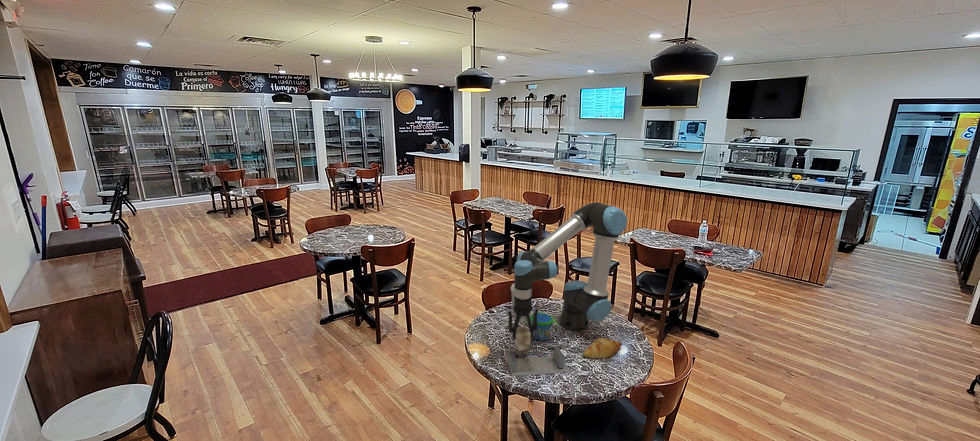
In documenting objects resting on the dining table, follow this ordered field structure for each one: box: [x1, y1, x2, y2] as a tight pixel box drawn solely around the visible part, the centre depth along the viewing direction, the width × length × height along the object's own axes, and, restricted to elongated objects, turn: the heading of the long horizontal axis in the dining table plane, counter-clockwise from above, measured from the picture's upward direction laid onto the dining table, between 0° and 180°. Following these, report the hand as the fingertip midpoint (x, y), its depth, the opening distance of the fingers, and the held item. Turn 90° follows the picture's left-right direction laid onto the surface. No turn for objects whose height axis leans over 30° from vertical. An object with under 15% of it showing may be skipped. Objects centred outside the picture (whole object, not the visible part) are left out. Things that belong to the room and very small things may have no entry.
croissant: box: [582, 337, 623, 359], centre depth 183 cm, size 21×10×8 cm, turn 115°
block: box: [517, 325, 531, 352], centre depth 179 cm, size 5×8×7 cm, turn 8°
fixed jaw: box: [507, 348, 517, 373], centre depth 169 cm, size 2×9×5 cm, turn 8°
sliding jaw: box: [546, 345, 565, 368], centre depth 173 cm, size 6×11×5 cm, turn 8°
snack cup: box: [524, 312, 559, 341], centre depth 195 cm, size 16×10×10 cm
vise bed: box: [506, 355, 569, 377], centre depth 172 cm, size 24×10×2 cm, turn 98°
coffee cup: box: [510, 283, 516, 314], centre depth 221 cm, size 10×10×15 cm
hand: (522, 344), depth 180 cm, fingers closed on block, 5 cm apart
